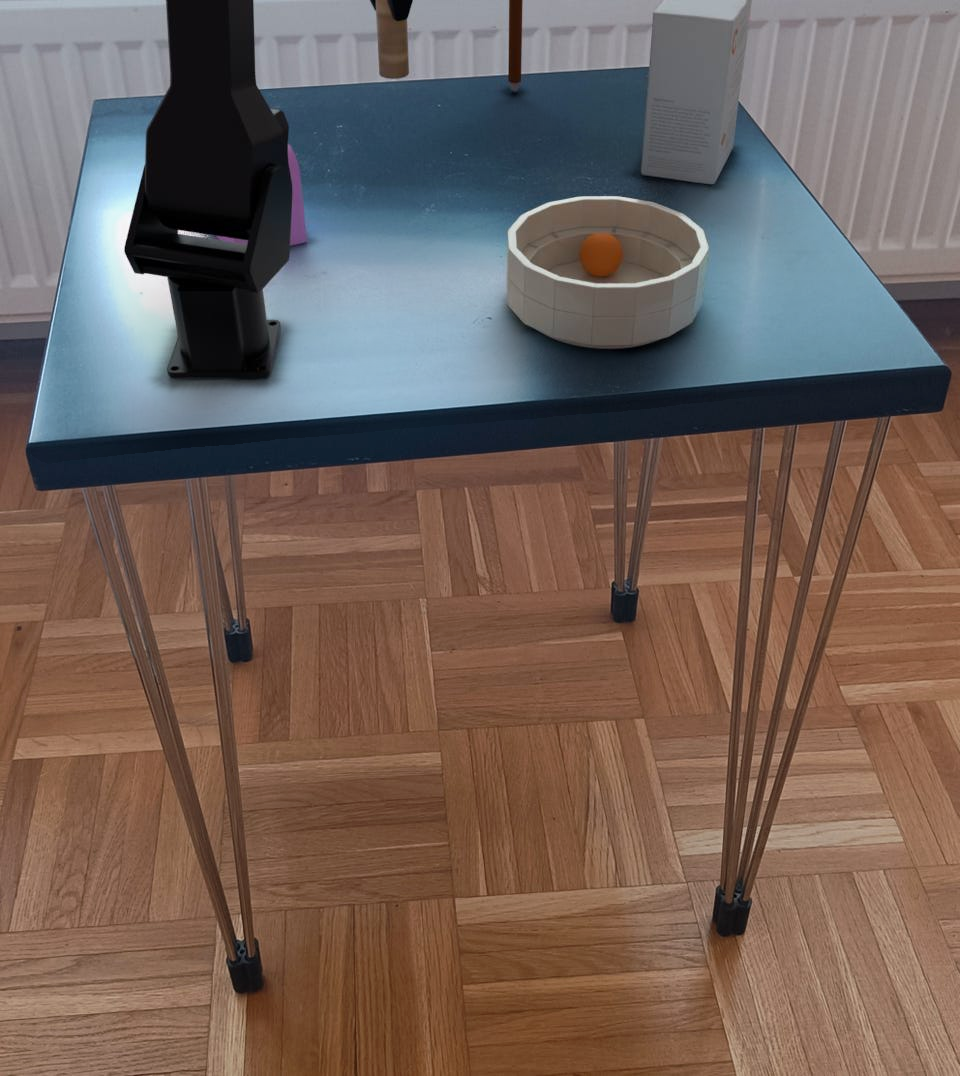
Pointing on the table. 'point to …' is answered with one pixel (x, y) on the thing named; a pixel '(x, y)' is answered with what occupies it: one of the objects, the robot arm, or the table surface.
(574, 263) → the bowl
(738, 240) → the table surface
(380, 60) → the stirring stick
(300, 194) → the bracket
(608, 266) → the ball
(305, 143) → the table surface
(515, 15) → the magnifying glass
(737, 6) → the small box
